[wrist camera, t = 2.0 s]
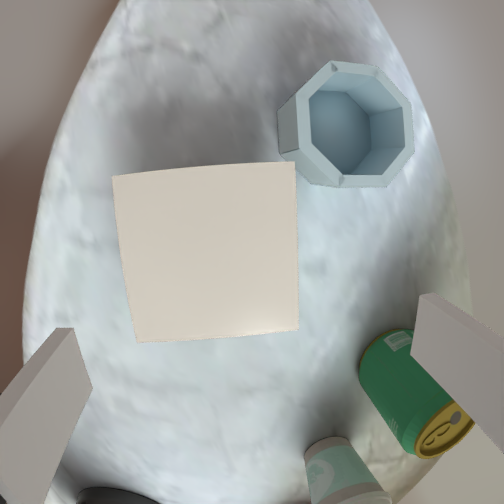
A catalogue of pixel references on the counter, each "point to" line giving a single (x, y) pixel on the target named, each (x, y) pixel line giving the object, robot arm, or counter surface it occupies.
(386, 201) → the counter surface
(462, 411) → the beverage can
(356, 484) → the coffee cup
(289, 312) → the ceramic tile
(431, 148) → the counter surface
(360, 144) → the bowl
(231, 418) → the counter surface
